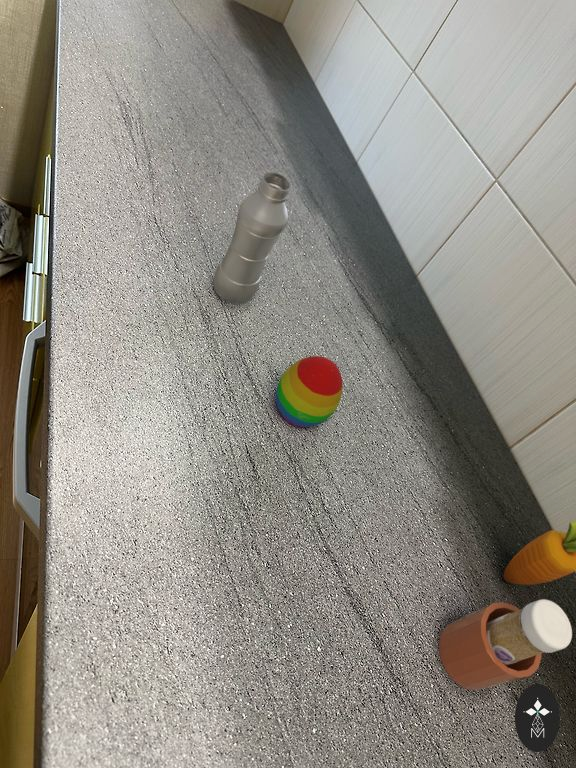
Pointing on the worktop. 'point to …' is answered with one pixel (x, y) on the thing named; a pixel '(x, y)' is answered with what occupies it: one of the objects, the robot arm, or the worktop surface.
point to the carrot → (544, 558)
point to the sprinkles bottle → (529, 632)
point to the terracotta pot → (479, 651)
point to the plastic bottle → (253, 239)
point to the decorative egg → (309, 391)
